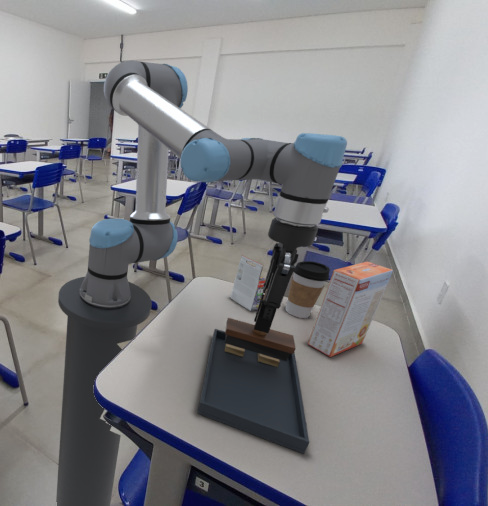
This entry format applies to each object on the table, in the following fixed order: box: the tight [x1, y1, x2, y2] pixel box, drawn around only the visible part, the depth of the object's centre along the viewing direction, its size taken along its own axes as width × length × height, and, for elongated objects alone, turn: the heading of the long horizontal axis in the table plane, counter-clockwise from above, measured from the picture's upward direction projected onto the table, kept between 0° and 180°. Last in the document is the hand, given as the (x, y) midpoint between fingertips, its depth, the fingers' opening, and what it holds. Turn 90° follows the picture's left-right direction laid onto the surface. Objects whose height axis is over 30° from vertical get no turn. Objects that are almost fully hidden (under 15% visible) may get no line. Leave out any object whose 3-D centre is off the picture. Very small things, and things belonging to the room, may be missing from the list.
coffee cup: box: [285, 260, 331, 319], centre depth 100 cm, size 8×8×15 cm
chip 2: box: [258, 353, 280, 367], centre depth 80 cm, size 4×4×2 cm
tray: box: [197, 328, 310, 455], centre depth 73 cm, size 27×17×3 cm, turn 153°
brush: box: [224, 288, 297, 362], centre depth 74 cm, size 5×13×14 cm, turn 64°
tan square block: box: [225, 343, 245, 357], centre depth 83 cm, size 4×4×2 cm
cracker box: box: [307, 261, 394, 358], centre depth 85 cm, size 14×6×21 cm, turn 115°
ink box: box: [230, 254, 266, 312], centre depth 103 cm, size 4×8×15 cm, turn 21°
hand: (261, 326), depth 75 cm, fingers closed on brush, 3 cm apart
